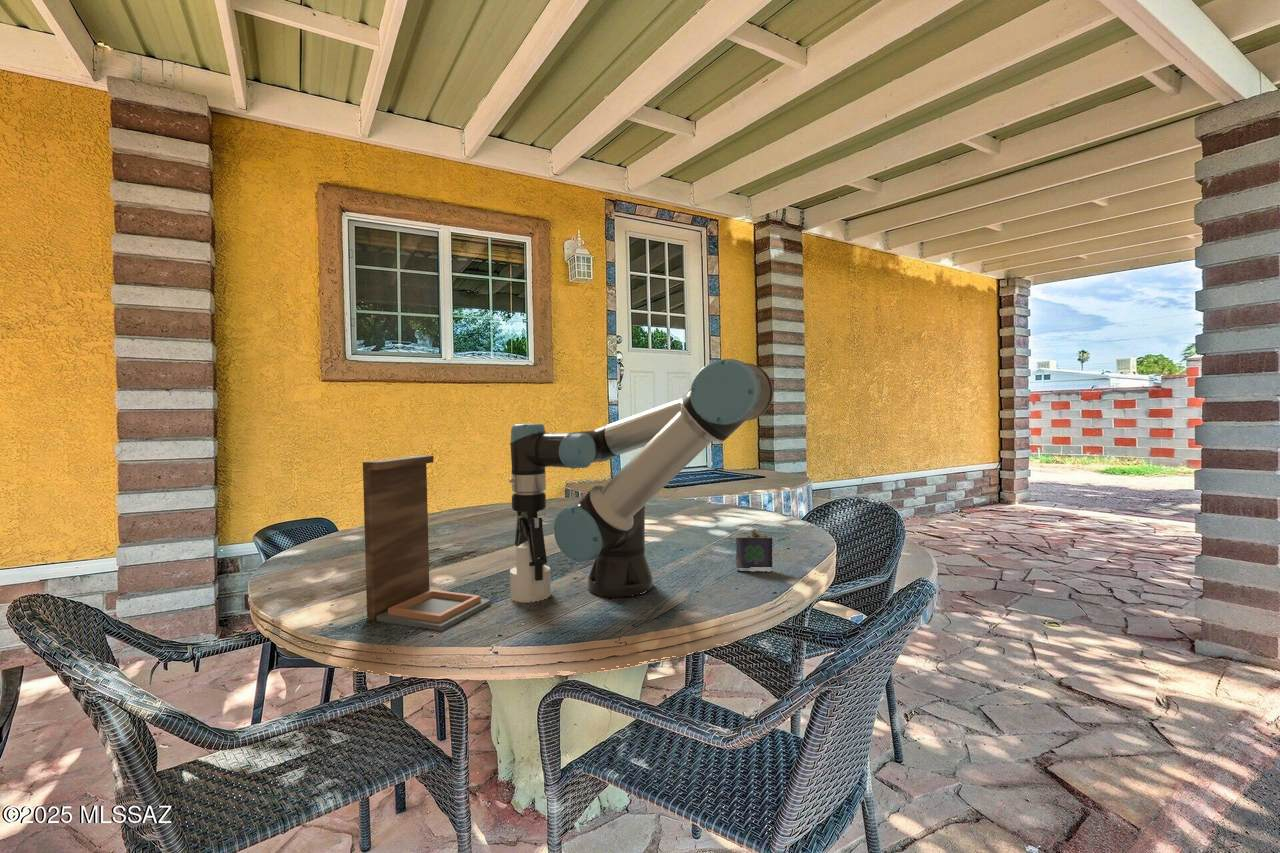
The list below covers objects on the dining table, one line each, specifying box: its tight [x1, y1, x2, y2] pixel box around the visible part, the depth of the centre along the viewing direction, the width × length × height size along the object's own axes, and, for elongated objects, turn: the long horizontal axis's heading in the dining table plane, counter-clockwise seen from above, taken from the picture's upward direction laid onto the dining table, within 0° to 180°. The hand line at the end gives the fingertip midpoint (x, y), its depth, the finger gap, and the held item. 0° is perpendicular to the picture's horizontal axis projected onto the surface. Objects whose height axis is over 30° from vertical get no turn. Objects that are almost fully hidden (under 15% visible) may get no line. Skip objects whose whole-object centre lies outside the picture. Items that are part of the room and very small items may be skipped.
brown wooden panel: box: [362, 454, 434, 621], centre depth 126 cm, size 4×16×32 cm, turn 159°
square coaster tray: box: [376, 589, 492, 632], centre depth 123 cm, size 16×16×2 cm
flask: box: [735, 528, 773, 568], centre depth 151 cm, size 9×3×11 cm, turn 84°
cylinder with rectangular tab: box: [509, 540, 552, 603], centre depth 134 cm, size 9×9×12 cm
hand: (530, 585), depth 134 cm, fingers open, 13 cm apart
